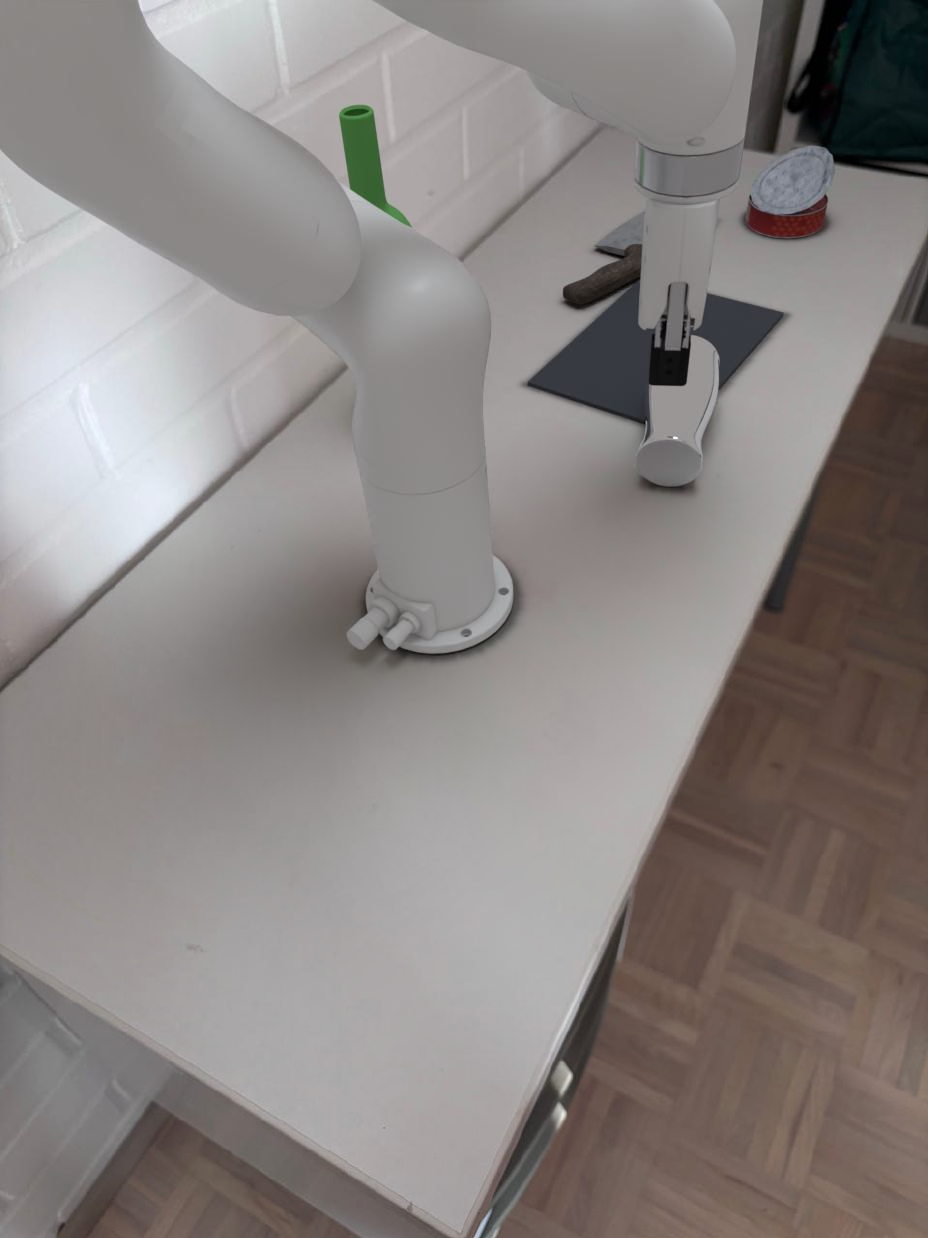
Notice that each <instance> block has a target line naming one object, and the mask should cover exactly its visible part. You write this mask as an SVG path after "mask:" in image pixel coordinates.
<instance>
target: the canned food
mask: <svg viewBox="0 0 928 1238" xmlns="http://www.w3.org/2000/svg"><path fill="white" fill-rule="evenodd" d="M833 155H834V154H832V153H830V151H829V150H828V148H826V147H824V146H820V145H819V146H818V145H808V146H804V147H799V148H798V147H797V148H795V149H792V150H790V151H788V152H786V153H785V154H781V155H780V156H778V157H776V158H775V159H774V160H772V161H771V162H770V163H769V164H768V165H766V166H764V167H763V168H762V169H761V170H760V172H759V173H758V174H757V176H756V177H755V178H754V179H753V180H752V185H751V188H750V191H749V194H748V201H747V207H746V214H745V220H744V222H745V225H746V226H747V227H748V229H750V230H751V231H753V232H755V233H757V234H758V235H761V236H765V237H767V238H768V237H769V238H774V239H785V240H786V239H787V240H788V239H790V240H791V239H799V238H805V237H809V236H811V235H814V234H816V233H818V232H819V231H820V230H821V229H822V228H823V226H824V223H825V218H826V213H827V209H828V204H829V196H828V195H827V193H828V191H829V189H830V188H831V186H832V184H833V181H834V176H835V171H836V167H835V163H834V156H833Z"/></svg>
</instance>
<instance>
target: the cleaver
mask: <svg viewBox="0 0 928 1238" xmlns="http://www.w3.org/2000/svg"><path fill="white" fill-rule="evenodd" d="M644 217H645V211H644V212H642V213H640V214H637V215H636V216H634V217H633V218H631V219H629V220H628V221H626V222H625V223H623V224H621V225H619V226H618V227H617V228H615V229H614V230H613V231H611V232H610V233H608V234H607V235H605V236H604V237H603V238H601V240H599V241H598V242H597V243H595V244H594V247H596V248H598V249H599V250H602V251H604V252H607V253H609V254H615V255H618V256H623V258H622V259H619V260H616V261H613V262H610V263H608V264H605V265H603V266H600V267H599V268H598V269H596V270H595V271H594V272H593V273H591V274H590V275H588V276H586V277H584V278H581V279H578V280H576V281H574V282H571V283H568V284H566V285H564V286H563V288H562V297H563V299H564V300H565V301H567V302H570V303H573V304H575V305H585V304H587V303H590V302H593V301H594V300H597V299H600V298H601V297H603V296H606V295H607V294H610V293H611V292H613V291H616V290H617V289H619V288H621V287H623V286H625V285H626V284H630V283H631V282H633V281H634V280H636V279H638V278H640V277H641V259H642V244H643V228H644Z"/></svg>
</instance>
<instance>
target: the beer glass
mask: <svg viewBox="0 0 928 1238" xmlns="http://www.w3.org/2000/svg"><path fill="white" fill-rule="evenodd" d="M719 364H720V359H719V355H718V352H717V350H716V349H715V347H714V346H713V345H712V344H711V343H710V342H709V341H707V340H705V339H703V338H701V337H698V336H695V335H691V349H690V358H689V367H688V376H687V383H686V385H684V386H653V385H650V384H649V374H648V378H647V382H646V388H645V401H644V406H645V423H644V424H645V428H644V429H645V431H644V435H643V438H642V440H641V442H640V444H639V446H638V448H637V451H636V454H635V459H634V460H635V467H636V469H637V471H638V473H640V474H639V475H641V476H642V477H643V478H644V479H646V480H647V481H649V482H650V483H652V484H655V485H656V486H657V485H658V486H662V487H668V488H669V487H670V488H671V487H681V486H683V485H686V484H687V485H688V484H689V483H692V481H694V480H695V479H696V478H698V476H699V475H700V474H701V471H702V469H703V465H704V463H703V462H704V458H703V449H702V442H703V441H702V440H703V436H704V433H705V431H706V429H707V426H708V424H709V421H710V419H711V417H712V414H713V412H714V410H715V406H716V403H717V398H718V394H719V390H718V385H719Z"/></svg>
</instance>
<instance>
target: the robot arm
mask: <svg viewBox="0 0 928 1238" xmlns="http://www.w3.org/2000/svg"><path fill="white" fill-rule="evenodd" d="M372 1H373V2H374V3H376V4H378V5H379V6H381V7H382V8H384V9H386V10H387V11H389V12H391V13H393V15H396V16H397V17H398V18H401V19H403V20H404V21H406V22H408V23H410V24H412V25H414V26H416V27H418V28H420V29H422V30H425V31H427V32H429V33H431V34H432V35H434V36H436V37H438V38H439V39H440V38H441V39H443V40H445V41H448V42H449V43H451V44H453V45H456V46H458V47H461V48H463V49H466V50H470V51H472V52H474V53H478V54H480V55H483V56H486V57H489V58H492V59H496V60H499V61H501V62H504V63H507V64H510V65H512V66H514V67H517V68H520V69H522V70H524V71H525V73H526V76H527V77H528V79H529V81H530V82H531V84H532V85H533V86H534V88H535V89H536V91H538V92H539V93H540V94H541V95H542V96H544V97H545V98H546V99H547V100H549V101H550V102H552V103H554V104H555V105H558V106H560V107H561V108H565V109H566V110H570V111H572V112H574V113H577V114H579V115H582V116H584V117H586V118H589V119H591V120H594V121H598V122H601V123H603V124H605V125H608V126H610V127H613V128H615V129H618V130H620V131H622V132H625V133H627V134H629V135H632V136H634V137H635V139H636V140H635V157H634V174H633V185H634V188H635V190H636V191H637V192H638V193H639V194H641V195H642V196H644V197H646V199H645V208H644V212H645V217H644V228H643V244H642V259H641V276H640V277H639V279H640V295H639V316H638V324H639V326H640V327H641V328H642V329H643V330H646V328H649V329H654V328H655V334H652V339H651V353H650V366H649V384H650V385H653V386H684V385H686V383H687V376H688V367H689V358H690V349H691V335H690V328H691V327H693V330H696V329H697V328H698V327H699V326H700V325H701V323H702V318H703V313H704V307H705V302H706V296H707V293H708V289H709V284H710V276H711V270H712V265H713V258H714V250H715V244H716V243H715V242H716V234H717V228H718V219H719V213H720V211H719V210H720V203H721V199H724V198H725V197H727V196H729V195H731V194H732V193H733V192H735V190H736V189H737V188H738V187H739V184H740V177H741V176H740V175H741V170H742V161H743V155H744V147H745V140H746V132H747V123H748V116H749V109H750V103H751V102H750V100H751V94H752V87H753V79H754V74H755V73H754V71H755V63H756V58H757V57H756V56H757V49H758V41H759V34H760V29H761V27H760V26H761V20H762V11H763V6H764V5H763V4H764V0H372ZM0 151H1V152H2V153H3V155H5V157H7V158H8V159H9V160H10V161H11V162H12V163H13V164H14V165H15V166H16V167H17V168H19V169H20V170H21V171H22V172H23V173H25V174H26V175H28V176H29V177H30V178H32V179H33V180H34V181H36V182H37V183H39V184H40V185H42V186H43V187H45V188H46V189H48V190H49V191H51V192H53V193H54V194H56V195H57V196H59V197H60V198H62V199H64V200H65V201H67V202H69V203H71V204H72V205H74V206H76V207H78V208H79V209H81V210H83V211H85V212H86V213H87V214H90V215H91V216H93V217H95V218H96V219H98V220H100V221H101V222H103V223H105V224H107V225H108V226H109V227H111V228H113V229H115V230H117V231H118V232H120V233H121V234H122V235H124V236H126V237H127V238H129V239H131V240H132V241H134V242H135V243H137V244H138V245H140V246H141V247H143V248H146V249H148V250H149V251H151V252H153V253H155V254H157V256H160V257H161V258H163V259H165V260H167V261H169V262H170V263H172V264H173V265H175V266H177V267H179V268H181V269H182V270H184V271H186V272H188V273H190V274H192V275H193V276H194V277H197V278H199V279H200V280H201V281H203V282H205V283H206V284H207V285H209V286H210V287H211V288H212V289H213V290H215V291H216V292H218V293H219V294H221V295H223V296H225V297H226V298H228V299H230V300H231V301H233V302H235V303H236V304H239V305H240V306H244V307H246V308H248V309H252V310H254V311H256V312H260V313H265V314H267V315H268V314H269V315H273V316H277V317H278V316H281V317H291V318H292V319H293V320H295V321H296V322H298V323H299V324H300V325H302V327H304V328H305V329H306V330H308V331H309V332H310V333H311V334H312V335H313V336H314V337H316V338H317V339H318V340H319V341H321V343H323V344H324V345H325V346H326V347H328V349H329V350H330V351H331V352H332V353H333V354H334V355H336V356H337V357H338V358H339V359H340V360H341V361H342V362H343V363H344V364H345V366H346V367H347V368H348V369H349V370H350V373H351V374H352V375H351V376H352V377H353V380H354V383H355V384H354V385H355V391H356V393H355V394H356V396H355V402H354V406H353V410H352V416H351V435H352V442H353V449H354V454H355V459H356V465H357V468H358V471H359V476H360V482H361V488H362V492H363V493H362V494H363V497H364V503H365V508H366V513H367V520H368V524H369V529H370V534H371V540H372V545H373V549H374V556H375V560H376V565H377V569H376V570H375V572H374V573H373V574H372V575H371V577H370V580H369V582H368V584H367V587H366V592H365V605H366V606H365V608H366V611H367V613H366V614H365V615H364V616H363V617H361V618H360V619H358V621H357V622H355V623H354V625H352V626H351V627H350V628H349V629H348V630H347V632H346V633H345V635H346V639H347V640H348V642H349V643H350V644H351V645H352V646H353V647H354V648H356V649H358V650H361V651H363V650H365V649H366V648H367V647H368V646H369V645H370V644H371V643H372V642H373V641H374V640H375V639H376V638H377V637H378V636H379V635H380V636H381V637H382V642H383V644H384V645H385V646H386V648H388V649H389V650H391V651H396V650H397V649H398V648H401V649H404V650H408V651H411V652H416V653H422V654H432V655H433V654H447V653H448V654H449V653H453V652H458V651H462V650H465V649H467V648H471V647H473V646H476V645H477V644H479V643H482V642H483V641H485V640H487V639H488V638H489V637H491V636H492V635H494V633H496V632H497V631H498V630H499V629H500V628H501V627H502V626H503V625H504V624H505V622H506V621H507V618H508V617H509V615H510V613H511V611H512V609H513V608H512V607H513V604H514V603H513V602H514V585H513V584H514V583H513V579H512V576H511V574H510V571H509V569H508V568H507V566H506V565H505V564H504V562H503V561H502V560H501V559H500V558H499V557H497V556H496V555H495V554H493V539H492V538H493V537H492V524H491V523H492V522H491V509H490V494H489V478H488V464H487V450H486V440H485V439H486V438H485V423H484V422H485V420H484V390H485V389H484V388H485V378H486V377H485V376H486V368H487V363H488V356H489V352H490V344H491V337H492V315H491V309H490V305H489V300H488V298H487V296H486V293H485V291H484V289H483V287H482V285H481V284H480V282H479V280H478V279H477V278H476V276H475V274H473V272H472V271H471V270H470V269H469V268H468V266H466V265H465V263H464V262H462V261H461V260H460V259H459V258H458V257H456V256H455V255H454V254H453V253H451V252H450V251H449V250H447V249H446V248H445V247H443V246H442V245H440V244H439V243H437V242H435V241H434V240H432V239H431V238H428V237H427V236H425V235H424V234H423V233H421V232H420V231H418V230H416V229H415V228H414V227H412V228H411V227H410V226H407V225H405V224H403V223H401V222H400V221H398V220H397V219H395V218H393V217H392V216H390V215H389V214H387V213H385V212H384V211H382V210H381V209H379V208H377V207H376V206H374V205H373V204H371V203H370V202H368V201H367V200H365V199H364V198H362V197H361V196H359V195H358V194H356V193H355V192H353V191H352V190H350V187H348V186H346V185H345V184H343V183H342V182H340V180H338V179H337V178H336V176H335V175H334V173H332V171H330V170H329V169H328V167H327V166H326V165H325V164H324V163H323V162H322V161H321V160H320V159H319V158H318V157H317V156H316V155H314V154H313V153H312V152H311V151H309V150H308V149H307V148H306V147H305V146H303V145H302V144H301V143H299V142H298V141H297V140H295V139H294V138H292V137H291V136H289V135H288V134H286V133H285V132H283V131H281V130H280V129H278V128H277V127H275V126H273V125H271V124H270V123H269V122H266V121H265V120H263V119H261V118H260V117H258V116H257V115H256V114H253V113H252V112H250V111H249V110H247V109H245V108H243V107H240V106H239V105H237V104H236V103H235V102H233V101H232V100H230V99H229V98H228V97H226V96H225V95H223V94H222V93H221V92H219V90H217V89H216V88H214V87H213V86H212V85H211V84H210V83H208V82H207V81H206V80H205V79H204V78H202V77H201V75H199V73H197V72H196V71H195V70H194V69H192V68H191V67H189V66H188V65H187V64H185V63H184V62H183V61H182V60H180V59H179V58H178V57H177V56H176V55H174V54H173V53H172V52H171V51H169V50H168V49H166V48H165V47H164V45H163V44H162V43H161V42H160V41H159V40H158V39H157V38H156V36H155V35H154V33H153V32H152V30H151V29H150V27H149V25H148V22H147V21H146V18H145V16H144V14H143V12H142V9H141V6H140V2H139V0H0Z"/></svg>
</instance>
